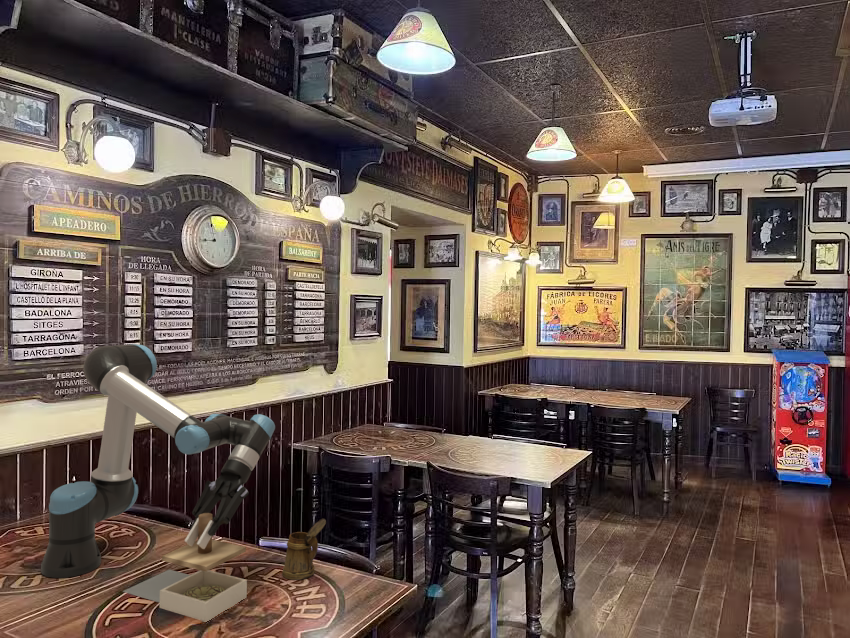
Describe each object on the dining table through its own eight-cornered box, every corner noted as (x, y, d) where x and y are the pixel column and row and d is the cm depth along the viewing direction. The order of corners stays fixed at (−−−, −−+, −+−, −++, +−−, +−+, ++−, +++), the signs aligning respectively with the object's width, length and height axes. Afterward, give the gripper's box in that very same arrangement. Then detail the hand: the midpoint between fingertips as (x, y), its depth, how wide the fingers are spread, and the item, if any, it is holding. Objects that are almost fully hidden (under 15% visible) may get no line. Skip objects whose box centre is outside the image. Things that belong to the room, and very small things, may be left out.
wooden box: (159, 610, 159) (159, 590, 159) (202, 586, 172) (203, 568, 172) (205, 623, 153) (205, 603, 153) (246, 598, 166) (246, 579, 166)
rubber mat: (122, 593, 167) (122, 591, 167) (169, 571, 182) (169, 569, 181) (164, 606, 161) (164, 603, 161) (209, 582, 175) (209, 580, 175)
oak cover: (161, 560, 159) (162, 518, 159) (203, 541, 172) (204, 503, 172) (206, 571, 153) (206, 528, 153) (245, 551, 166) (246, 511, 166)
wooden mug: (311, 587, 174) (312, 522, 174) (275, 575, 181) (277, 513, 181) (332, 576, 182) (333, 514, 181) (297, 564, 189) (299, 505, 189)
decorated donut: (232, 606, 162) (232, 592, 162) (191, 619, 155) (191, 604, 155) (215, 592, 170) (216, 578, 170) (175, 603, 163) (175, 589, 163)
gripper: (269, 476, 173) (227, 557, 158) (222, 469, 180) (177, 546, 165) (257, 461, 168) (212, 543, 153) (210, 454, 175) (162, 532, 160)
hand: (194, 544), depth 159 cm, fingers closed on oak cover, 3 cm apart
